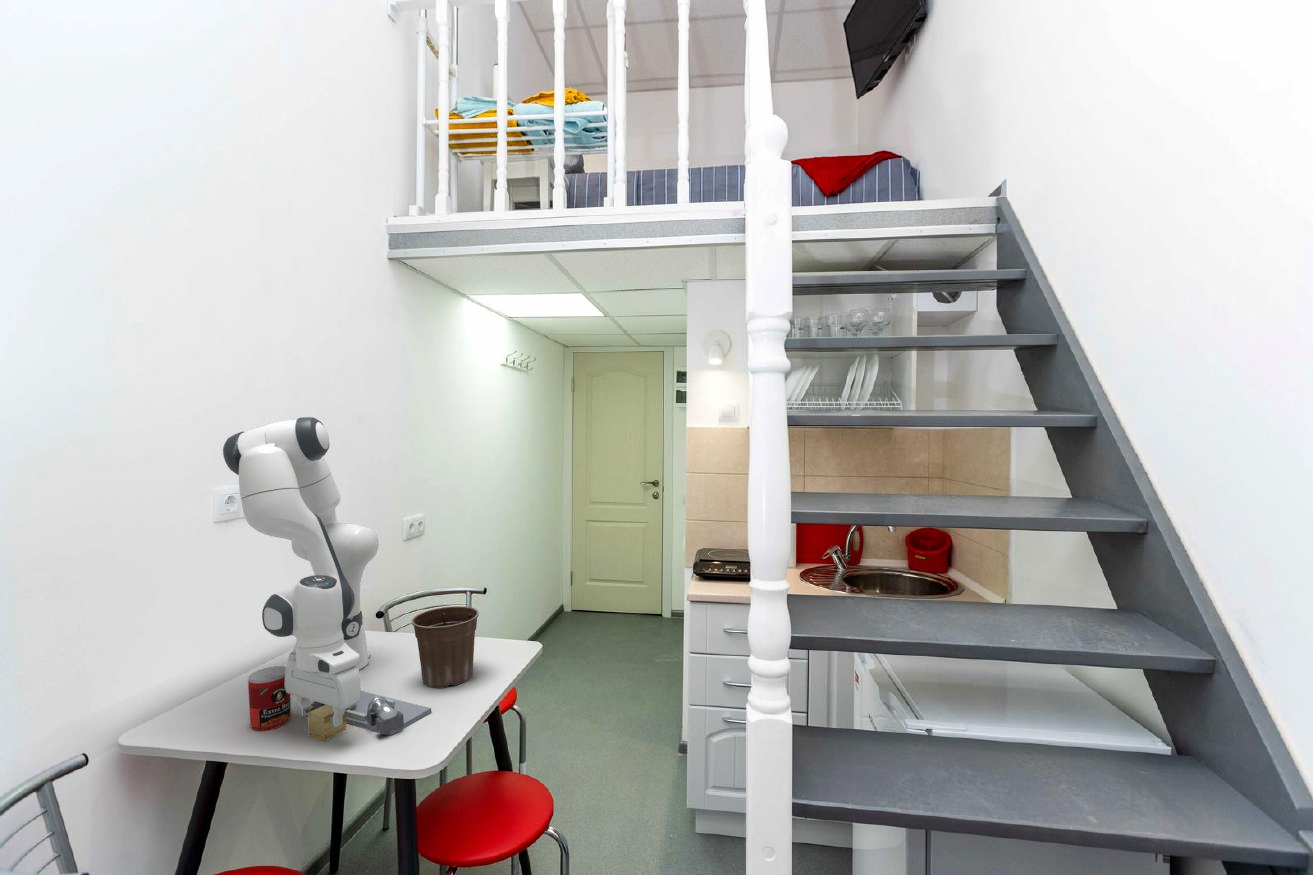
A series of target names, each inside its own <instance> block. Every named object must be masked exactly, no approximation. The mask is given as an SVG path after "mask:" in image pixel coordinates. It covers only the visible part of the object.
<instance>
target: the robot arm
mask: <svg viewBox="0 0 1313 875" xmlns="http://www.w3.org/2000/svg"><path fill="white" fill-rule="evenodd" d="M329 449H330V437H329V433H328V430H327V429H326V427H325V425H324V423H323V422H322V421H320V420H319V419H318V418H316V417H312V416H308V417H307V416H305V417H298V418H297V419H289V420H288V419H287V420H282V421H281V420H280V421H275V422H272V423H268V424H267V425H266V424H265V425H262V426H259V427H256V428H253V429H250V430H247V431H239V432H238V433H235V434H233V435H231V436H229V437H227V439H226V441H225V443H224V444H223V447H222V455H223V458H224V462H225V464H226V466H227V467H228V468H229V470H230V471H231V472H233V473H234V474H235V475H237V476H238V486H239V495H240V500H241V501H240V502H241V506H242V507H241V508H242V512H243V516H244V517H245V520H246V522H247V524H248V525H249V526H250V527H251V528H252V529H253V530H255V531H256V532H259V533H260V534H263V535H266V536H269V537H274V538H280V539H284V540H289V541H291V549H292V551H293V554H294V555H295V556H297V557H298V558H301V559H303V560H305V561H308V562H310V563H309V564H310V565H311V568H312V571H313V573H314V575H310V576H309V575H308V576H305V577H303V578H301V579H300V580H298V581H297V583H296V584H295V585H294V586H293V587H291V588H287V589H285V590H282V591H279V592H277V593H274V594H272V595H270V596H269V598H268V599H267V600H266V601H265V603H264V606H263V608H262V611H261V613H262V615H261V617H262V618H261V620H262V625H263V628H264V629H265V630H266V631H267V632H268V633H269V634H270V635H273V636H275V637H279V638H284V637H285V638H286V637H290V636H294V637H295V638H296V641H295V644H294V647H293V650H292V651H291V652H289V654H288V661H287V662H285V663H284V664H283V666H284V667H286V669H285V681H284V687H285V690H286V692H287V693H288V694H290V696H291V695H292V696H295V697H297V698H296V700H297V703H298V705H299V708H300V710H301V713H300V714H301V717H304V718H306V719H308V713H309V712H311V711H313V710H314V707H313V706H311V704H312V703H311V701H313V702H314V701H316V702H319V703H322V704H326V705H329V706H333V711H335V712H334V715H333V717H330V725H332V726H335V727H337V726H339V725H341V724H342V722H343V718H342V716H343V714H344V712H345V710H346V709H347V708H349V707H351V706H353V705H355V704H357V703H358V701H359V699H360V693H361V691H362V690H361V688H362V687H361V686H362V685H361V672H360V670H361V669H363V668H365V667H366V666H367V665H368V664H369V662H370V661H369V658H371V651H369V650H368V646H367V638H366V632H365V628H364V627H362V625H364V624H363V619H364V616H363V612H362V610H361V582H362V579H363V574H364V571H365V569H366V567H367V565H368V564H369V562H371V561H372V560H373V559H374V557H376V554H377V552H378V550H379V544H380V543H379V537H378V535H377V534H376V532H375V531H374V530H373V529H371V528H369V527H367V526H365V525H361V524H357V523H342V522H340V521H339V520H338V519H337V515H336V513H337V512H336V508H337V506H339V504H340V502H341V494H340V490H339V489H338V486H337V484H336V482H335V478H334V477H333V475H332V472H331V470H330V467H329V465H328V463H327V461H326V459H325V455H326V454H327V452H328V450H329Z"/></svg>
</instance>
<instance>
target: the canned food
mask: <svg viewBox="0 0 1313 875" xmlns="http://www.w3.org/2000/svg"><path fill="white" fill-rule="evenodd" d="M285 669H286V667H284V666H282V665H281V666H278V665H277V666H270V667H265V668H260V669H258V670H256V671H253V672H252V673H251V674H249V676H248V679H247V681H248V685H247V686H248V704H249V705H248V706H249V707H248V708H249V709H248V710H249V725H250V728H251V729H253V730H254V731H259V732H260V731H270V730H273V729H276V728H280V727H281V726H284V725H285V724H286V723H288V722H289V721H290V719H291V716H292V707H291V706H292V705H291V704H292V703H291V699H292V698H291V694H288V693H287V692H286V690H285V687H284V681H285Z"/></svg>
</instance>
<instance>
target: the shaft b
mask: <svg viewBox="0 0 1313 875" xmlns="http://www.w3.org/2000/svg"><path fill="white" fill-rule="evenodd" d="M381 696H382V695H380V696H379V697H376V698H374V699H373V700H371V702H370V703H369V705H368V711H367V723H368V724H370V725H371V726H374V725H376V731H375V732H377V733H378V734H379V735H384V733H386V732H389V731H392V730H394V729H397V728H400V727H403V726H404V718H403V714H402V713H401V712H400V711H395V710H394V706H392V705H391V704H388V701H387V700H386V699H385V698H384V697H385V696H384V697H381Z"/></svg>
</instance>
